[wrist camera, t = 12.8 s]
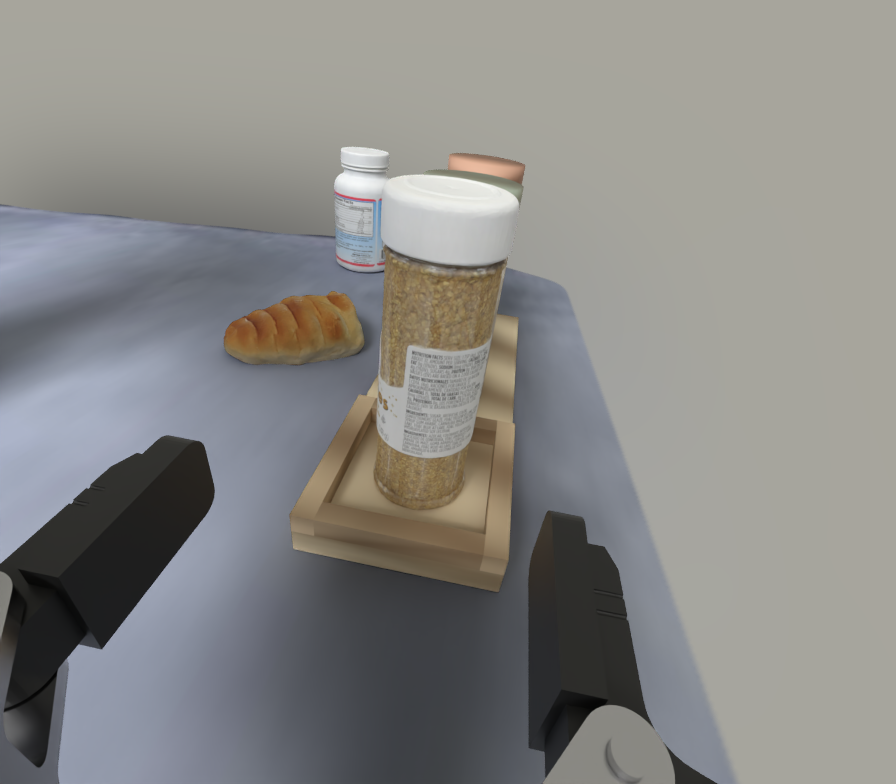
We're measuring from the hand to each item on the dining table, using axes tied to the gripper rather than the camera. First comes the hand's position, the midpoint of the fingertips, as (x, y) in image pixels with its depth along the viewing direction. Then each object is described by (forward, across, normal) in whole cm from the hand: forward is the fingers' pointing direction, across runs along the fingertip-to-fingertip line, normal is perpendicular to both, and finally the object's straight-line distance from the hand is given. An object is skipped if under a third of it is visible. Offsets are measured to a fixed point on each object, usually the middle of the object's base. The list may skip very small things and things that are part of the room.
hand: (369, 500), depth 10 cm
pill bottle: (+41, +13, +9) cm, 44 cm away
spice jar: (+9, 0, +8) cm, 12 cm away
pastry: (+22, +11, +10) cm, 26 cm away
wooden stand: (+18, 0, +9) cm, 20 cm away
